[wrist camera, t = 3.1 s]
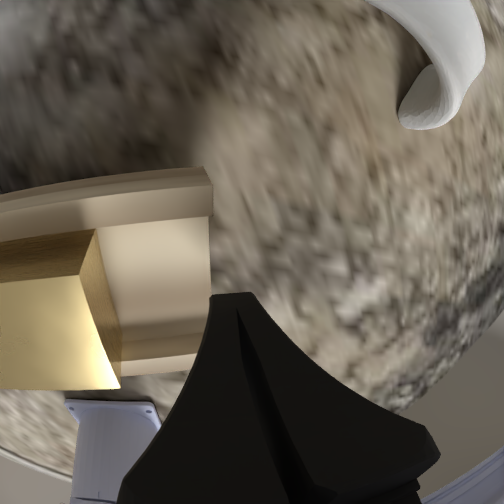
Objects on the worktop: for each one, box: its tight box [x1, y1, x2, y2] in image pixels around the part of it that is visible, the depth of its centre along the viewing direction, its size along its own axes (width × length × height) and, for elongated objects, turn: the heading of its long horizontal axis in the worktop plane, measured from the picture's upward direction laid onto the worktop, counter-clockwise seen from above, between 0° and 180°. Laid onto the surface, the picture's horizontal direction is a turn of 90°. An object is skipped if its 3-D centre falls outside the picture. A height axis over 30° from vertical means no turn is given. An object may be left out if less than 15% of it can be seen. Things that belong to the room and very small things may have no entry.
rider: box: [0, 228, 123, 390], centre depth 9 cm, size 5×6×3 cm
